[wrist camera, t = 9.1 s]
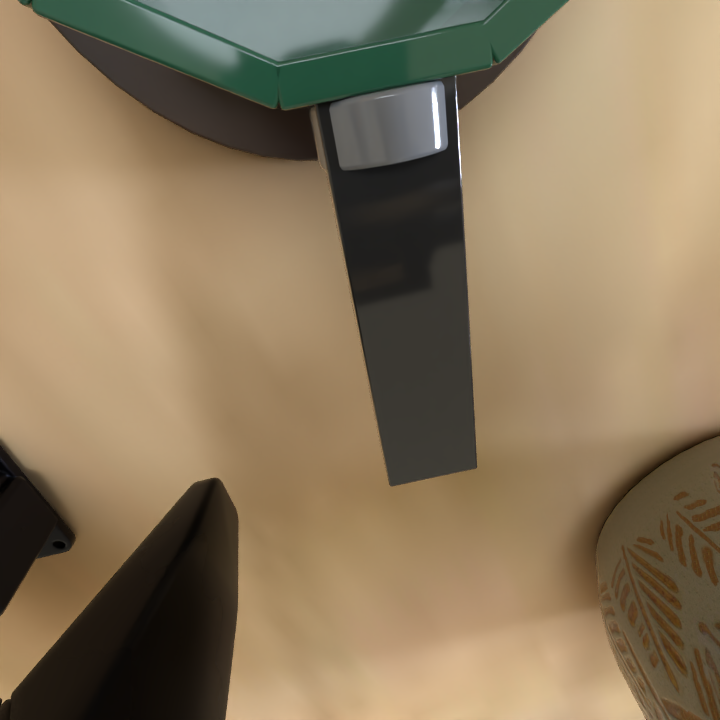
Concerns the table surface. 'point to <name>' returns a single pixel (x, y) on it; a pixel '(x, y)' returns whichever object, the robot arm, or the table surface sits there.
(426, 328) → the pot
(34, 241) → the table surface
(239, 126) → the dark round saucer
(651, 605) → the vase
